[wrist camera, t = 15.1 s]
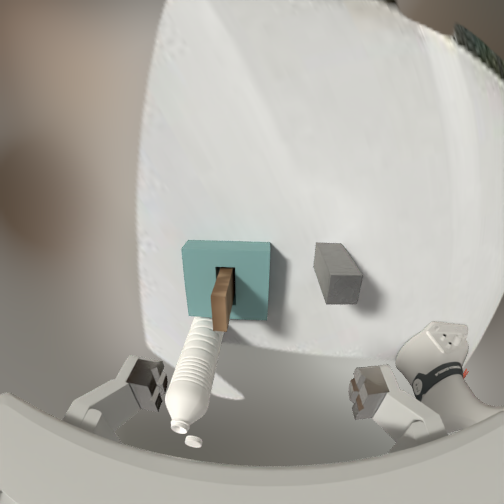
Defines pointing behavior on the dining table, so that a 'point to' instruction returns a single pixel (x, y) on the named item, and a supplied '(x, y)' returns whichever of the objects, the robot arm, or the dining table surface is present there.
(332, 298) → the square metal peg
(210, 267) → the socket block
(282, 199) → the dining table surface
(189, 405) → the water bottle
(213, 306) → the walnut blade
